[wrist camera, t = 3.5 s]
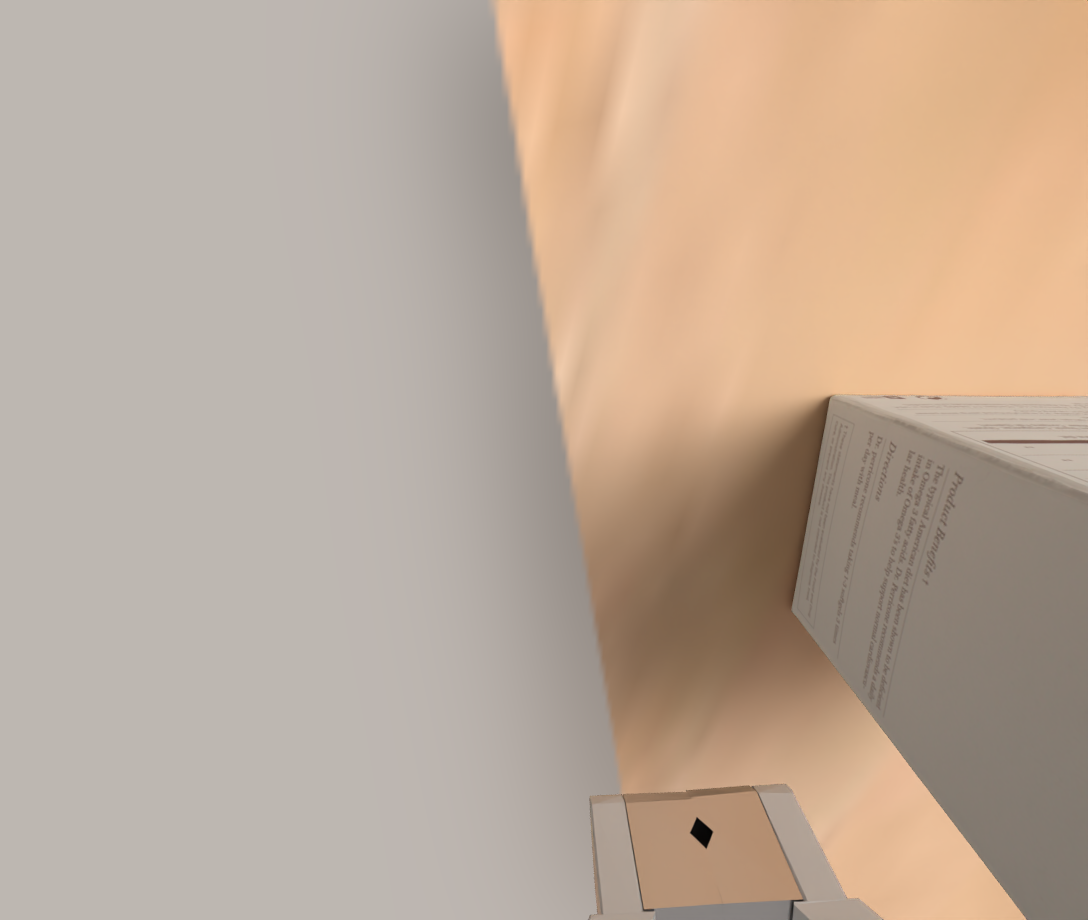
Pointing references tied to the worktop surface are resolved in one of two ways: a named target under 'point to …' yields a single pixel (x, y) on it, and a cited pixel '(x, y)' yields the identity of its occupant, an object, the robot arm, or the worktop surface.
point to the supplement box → (966, 614)
